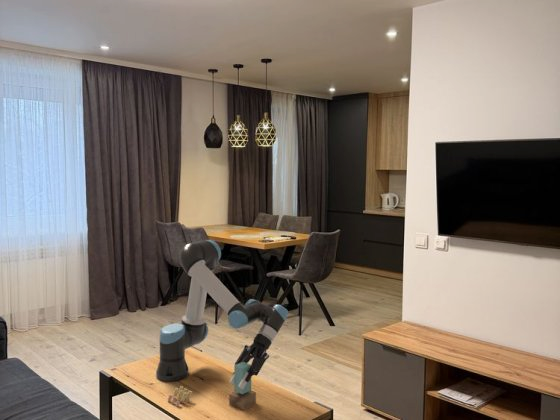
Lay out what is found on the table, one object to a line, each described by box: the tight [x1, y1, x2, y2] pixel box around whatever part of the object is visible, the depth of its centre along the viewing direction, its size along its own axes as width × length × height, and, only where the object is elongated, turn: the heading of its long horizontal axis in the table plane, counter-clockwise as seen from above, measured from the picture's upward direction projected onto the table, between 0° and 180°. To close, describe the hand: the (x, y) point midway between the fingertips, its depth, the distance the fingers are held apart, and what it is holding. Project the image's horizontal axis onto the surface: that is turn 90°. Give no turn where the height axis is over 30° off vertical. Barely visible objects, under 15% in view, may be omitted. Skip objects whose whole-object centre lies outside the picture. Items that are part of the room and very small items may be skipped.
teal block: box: [233, 362, 252, 394], centre depth 205 cm, size 5×5×11 cm
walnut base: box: [228, 390, 257, 411], centre depth 206 cm, size 8×8×5 cm
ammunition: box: [167, 385, 193, 408], centre depth 208 cm, size 5×7×8 cm
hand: (236, 385), depth 202 cm, fingers closed on teal block, 5 cm apart
